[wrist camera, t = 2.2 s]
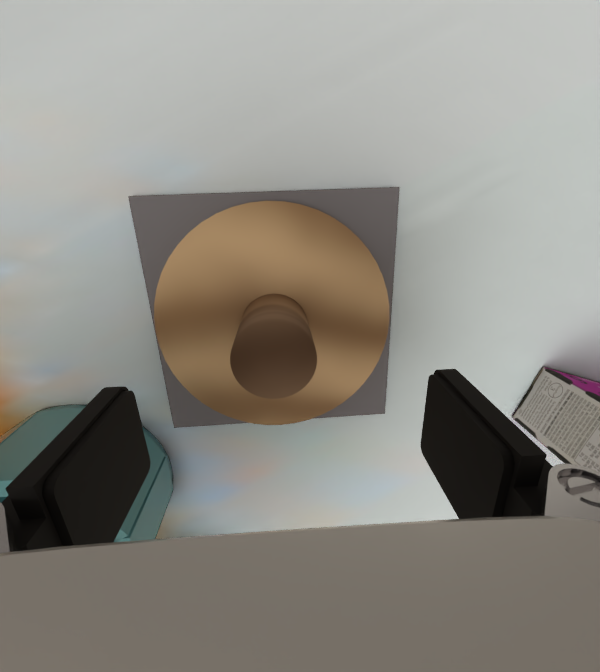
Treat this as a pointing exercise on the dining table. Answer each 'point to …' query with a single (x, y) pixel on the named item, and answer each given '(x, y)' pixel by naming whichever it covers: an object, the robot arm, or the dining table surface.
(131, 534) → the bowl
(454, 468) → the robot arm
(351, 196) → the mat
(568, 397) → the candy bar box
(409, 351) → the dining table surface
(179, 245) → the lid
